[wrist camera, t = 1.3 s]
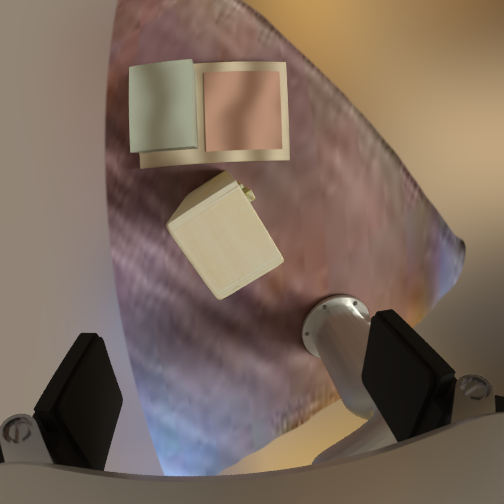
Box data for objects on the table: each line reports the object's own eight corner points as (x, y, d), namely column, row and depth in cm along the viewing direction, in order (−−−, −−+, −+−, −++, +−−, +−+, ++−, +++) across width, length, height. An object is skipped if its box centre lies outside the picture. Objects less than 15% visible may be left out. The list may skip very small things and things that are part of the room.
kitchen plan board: (281, 68, 39) (300, 43, 29) (285, 159, 43) (305, 160, 33) (143, 75, 37) (121, 53, 27) (145, 168, 42) (122, 171, 31)
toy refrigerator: (259, 213, 45) (292, 258, 25) (216, 239, 46) (216, 303, 26) (231, 166, 43) (241, 172, 23) (187, 194, 43) (160, 224, 23)
